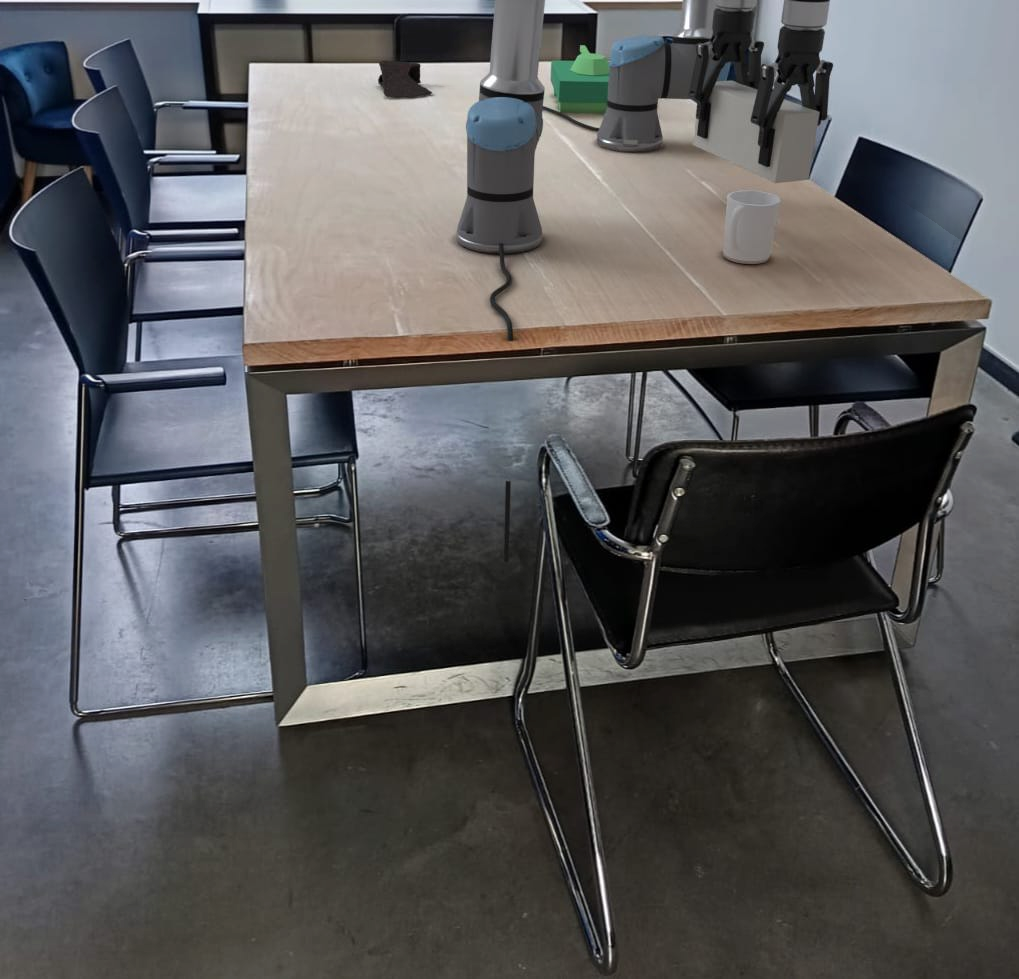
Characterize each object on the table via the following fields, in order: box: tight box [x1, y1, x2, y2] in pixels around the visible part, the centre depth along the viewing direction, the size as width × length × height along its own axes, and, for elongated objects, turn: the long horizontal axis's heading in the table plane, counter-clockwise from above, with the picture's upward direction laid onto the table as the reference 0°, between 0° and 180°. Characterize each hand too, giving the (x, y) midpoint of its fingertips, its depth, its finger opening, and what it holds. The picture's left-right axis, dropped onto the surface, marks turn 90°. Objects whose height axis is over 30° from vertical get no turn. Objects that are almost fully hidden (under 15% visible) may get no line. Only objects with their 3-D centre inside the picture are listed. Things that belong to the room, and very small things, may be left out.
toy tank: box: [550, 44, 610, 115], centre depth 290 cm, size 18×12×35 cm
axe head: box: [377, 59, 433, 99], centre depth 299 cm, size 18×8×15 cm
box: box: [692, 80, 820, 184], centre depth 204 cm, size 28×7×12 cm, turn 23°
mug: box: [722, 189, 782, 265], centre depth 187 cm, size 11×9×10 cm
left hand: (782, 162), depth 197 cm, fingers closed on box, 7 cm apart
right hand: (719, 135), depth 214 cm, fingers closed on box, 7 cm apart
